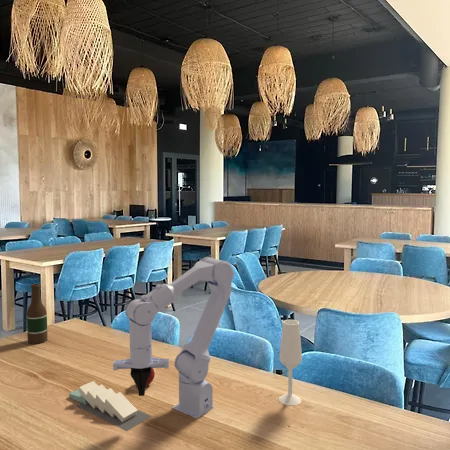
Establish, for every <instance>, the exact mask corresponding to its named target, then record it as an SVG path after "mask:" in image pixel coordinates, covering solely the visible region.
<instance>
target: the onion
mask: <svg viewBox="0 0 450 450" xmlns="http://www.w3.org/2000/svg"><path fill="white" fill-rule="evenodd" d="M154 369H155V368H152V369H151V373H150V376H149V378H148V380H147V383H146V387H147V386H149V385H150V384H151V383H152V382H153V381H154V379H155V375H156V374H155V373H156V372H155V370H154Z"/></svg>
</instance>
